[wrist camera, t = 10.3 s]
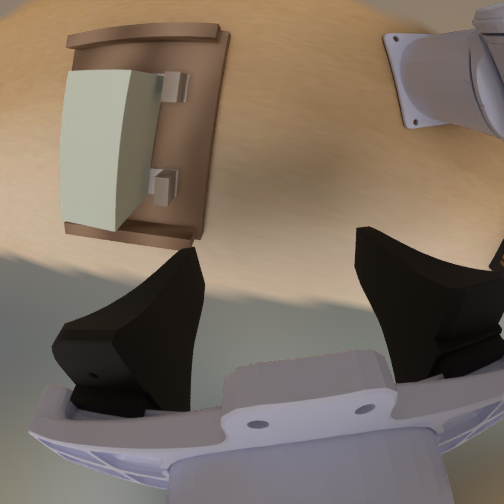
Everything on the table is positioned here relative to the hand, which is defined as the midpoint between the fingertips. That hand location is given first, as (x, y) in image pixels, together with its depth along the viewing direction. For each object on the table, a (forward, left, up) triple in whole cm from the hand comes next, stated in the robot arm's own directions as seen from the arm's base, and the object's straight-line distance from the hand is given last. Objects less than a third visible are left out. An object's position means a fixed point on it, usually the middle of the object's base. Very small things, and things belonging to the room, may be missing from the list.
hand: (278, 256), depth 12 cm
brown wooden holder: (+8, -8, -10) cm, 15 cm away
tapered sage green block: (+8, -7, -9) cm, 14 cm away
